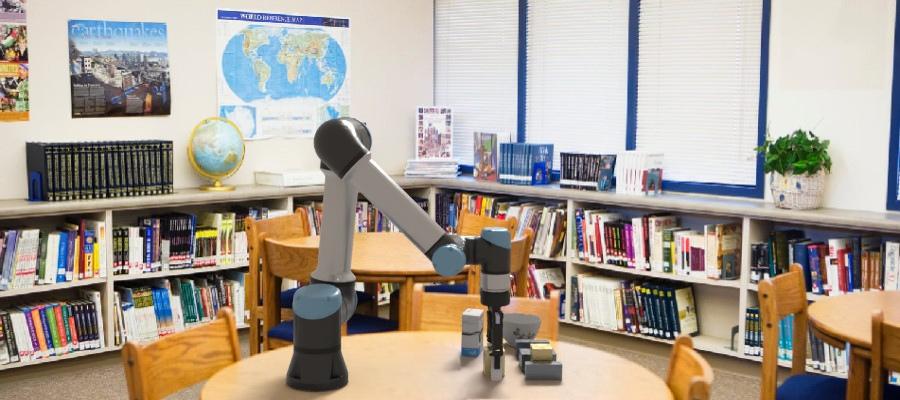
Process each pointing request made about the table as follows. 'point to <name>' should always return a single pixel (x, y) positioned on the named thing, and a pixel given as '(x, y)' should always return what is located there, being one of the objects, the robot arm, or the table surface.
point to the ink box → (472, 332)
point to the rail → (537, 362)
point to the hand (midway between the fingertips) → (494, 374)
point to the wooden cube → (541, 352)
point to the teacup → (520, 327)
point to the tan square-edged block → (488, 361)
